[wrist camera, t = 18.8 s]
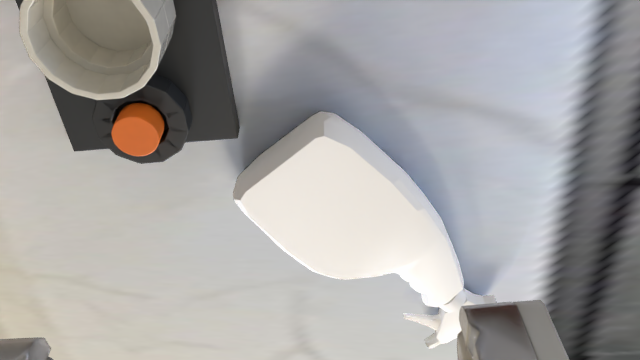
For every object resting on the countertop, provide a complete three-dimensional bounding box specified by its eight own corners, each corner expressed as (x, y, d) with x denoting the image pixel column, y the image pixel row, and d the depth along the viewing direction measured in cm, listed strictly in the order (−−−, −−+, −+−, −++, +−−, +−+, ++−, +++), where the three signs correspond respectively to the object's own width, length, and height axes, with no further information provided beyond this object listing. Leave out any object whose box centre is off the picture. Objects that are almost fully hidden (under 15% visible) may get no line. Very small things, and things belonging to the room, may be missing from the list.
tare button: (113, 104, 36) (105, 118, 35) (158, 100, 36) (152, 114, 34) (125, 143, 38) (118, 158, 36) (169, 139, 37) (163, 154, 36)
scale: (-1, -76, 32) (-26, -62, 30) (198, -95, 32) (189, -82, 30) (82, 144, 41) (68, 169, 38) (240, 132, 40) (236, 156, 38)
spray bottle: (335, 91, 39) (521, 283, 50) (219, 181, 43) (416, 340, 54) (337, 114, 36) (532, 310, 48) (215, 207, 40) (421, 368, 52)
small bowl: (35, -52, 32) (-4, -24, 28) (161, -64, 32) (140, -37, 27) (76, 64, 36) (47, 104, 32) (188, 55, 36) (173, 94, 31)
